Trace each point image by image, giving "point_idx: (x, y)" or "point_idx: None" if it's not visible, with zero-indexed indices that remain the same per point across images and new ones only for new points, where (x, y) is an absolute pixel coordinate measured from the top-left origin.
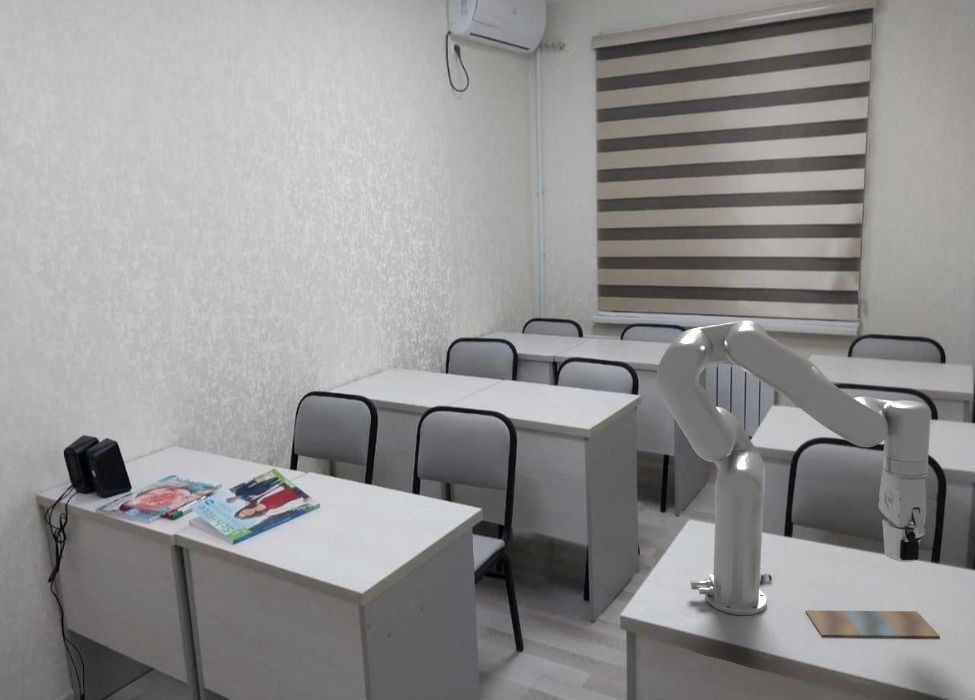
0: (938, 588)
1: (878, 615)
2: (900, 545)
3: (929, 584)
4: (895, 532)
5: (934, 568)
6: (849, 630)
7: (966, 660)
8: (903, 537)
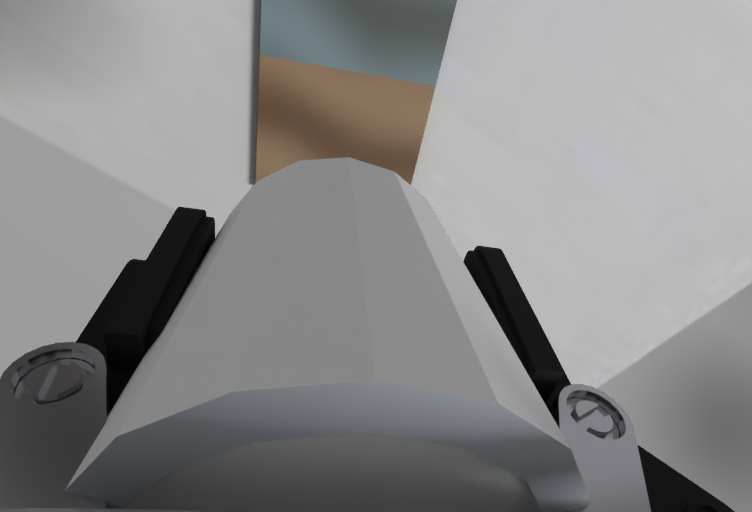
0: None
1: (406, 59)
2: (158, 284)
3: None
4: (151, 371)
5: (593, 369)
6: None
7: (130, 185)
8: (89, 384)
